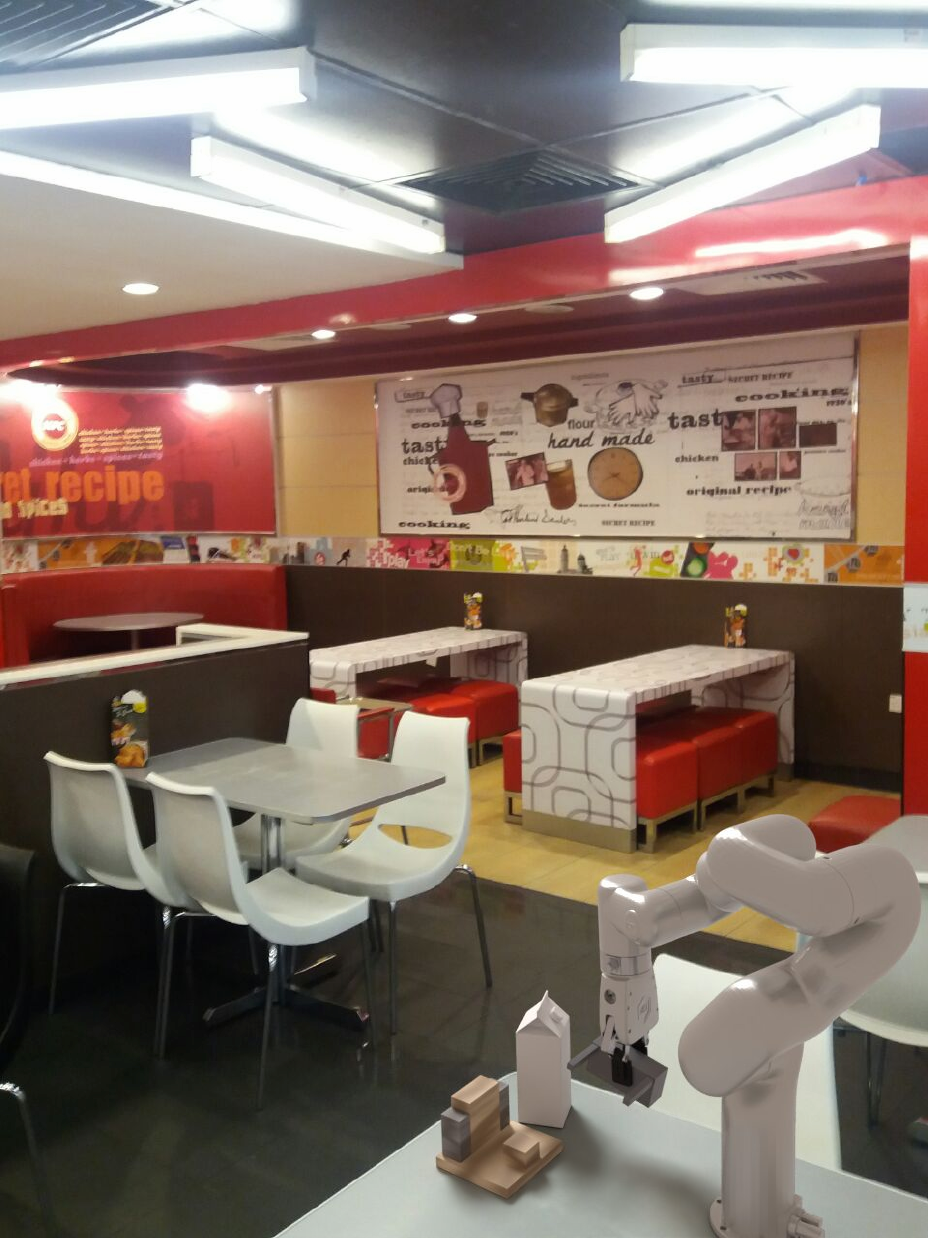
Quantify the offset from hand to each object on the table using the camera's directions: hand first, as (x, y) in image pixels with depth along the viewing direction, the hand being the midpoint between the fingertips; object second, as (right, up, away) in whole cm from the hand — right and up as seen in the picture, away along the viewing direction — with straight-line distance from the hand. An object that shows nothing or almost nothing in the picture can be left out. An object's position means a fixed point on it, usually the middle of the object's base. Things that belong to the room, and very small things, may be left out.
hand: (630, 1076), depth 169 cm
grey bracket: (-3, -2, -2) cm, 4 cm away
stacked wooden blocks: (-20, -12, -2) cm, 23 cm away
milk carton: (-12, -10, +10) cm, 18 cm away
